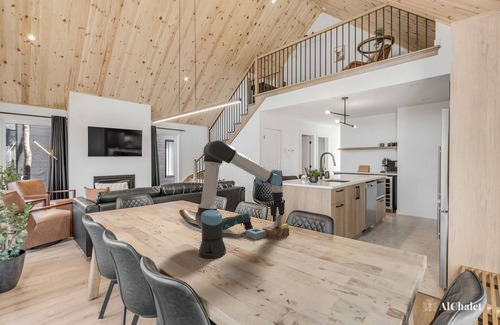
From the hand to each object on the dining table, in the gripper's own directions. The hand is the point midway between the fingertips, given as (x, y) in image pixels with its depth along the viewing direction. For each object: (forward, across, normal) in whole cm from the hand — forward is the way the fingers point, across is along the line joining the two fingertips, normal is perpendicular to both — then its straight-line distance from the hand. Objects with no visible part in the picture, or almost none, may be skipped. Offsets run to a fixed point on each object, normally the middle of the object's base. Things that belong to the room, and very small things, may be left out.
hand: (277, 225), depth 169 cm
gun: (+7, -21, +26) cm, 34 cm away
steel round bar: (+7, 0, 0) cm, 7 cm away
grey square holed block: (+7, -14, +7) cm, 17 cm away
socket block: (+7, -2, 0) cm, 7 cm away
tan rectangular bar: (+1, +1, -5) cm, 5 cm away
